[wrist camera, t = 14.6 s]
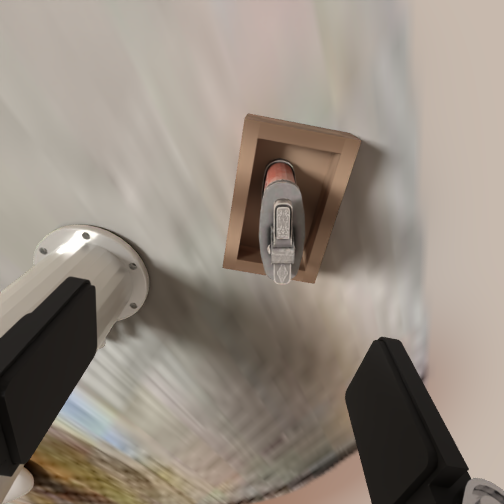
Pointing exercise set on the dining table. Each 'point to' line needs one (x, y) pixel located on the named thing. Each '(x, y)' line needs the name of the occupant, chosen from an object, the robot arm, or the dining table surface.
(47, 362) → the robot arm
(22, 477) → the flower in vase
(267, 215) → the lighter
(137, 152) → the dining table surface
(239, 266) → the lighter dock
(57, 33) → the dining table surface
